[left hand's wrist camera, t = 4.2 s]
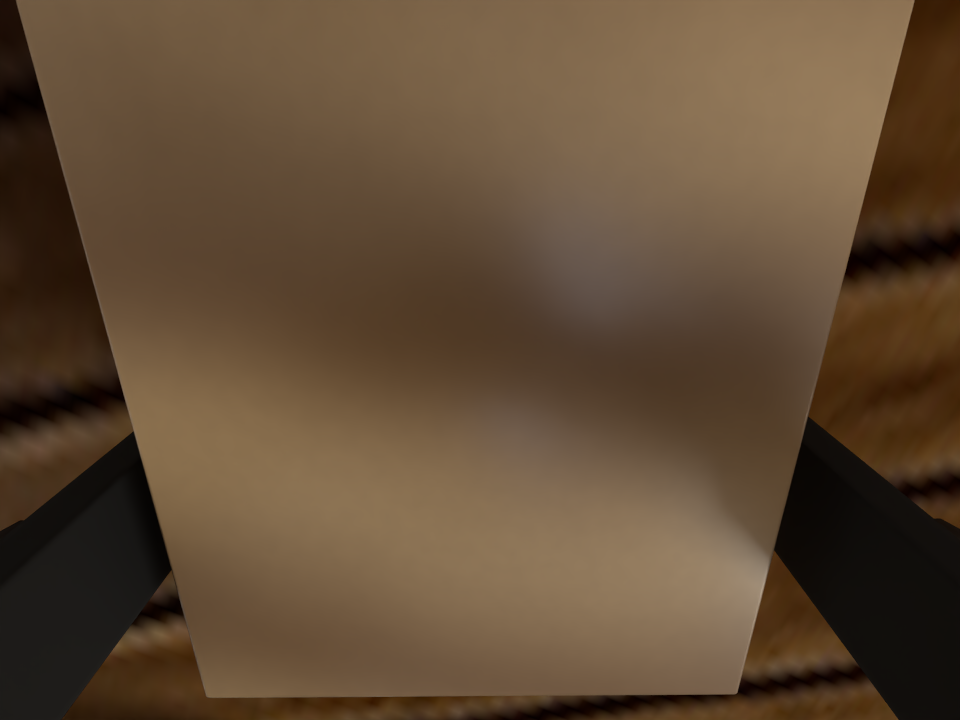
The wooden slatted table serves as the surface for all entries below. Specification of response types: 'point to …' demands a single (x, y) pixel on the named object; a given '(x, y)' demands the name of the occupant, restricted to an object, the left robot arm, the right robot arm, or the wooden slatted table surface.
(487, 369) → the cabinet
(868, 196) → the wooden slatted table surface
